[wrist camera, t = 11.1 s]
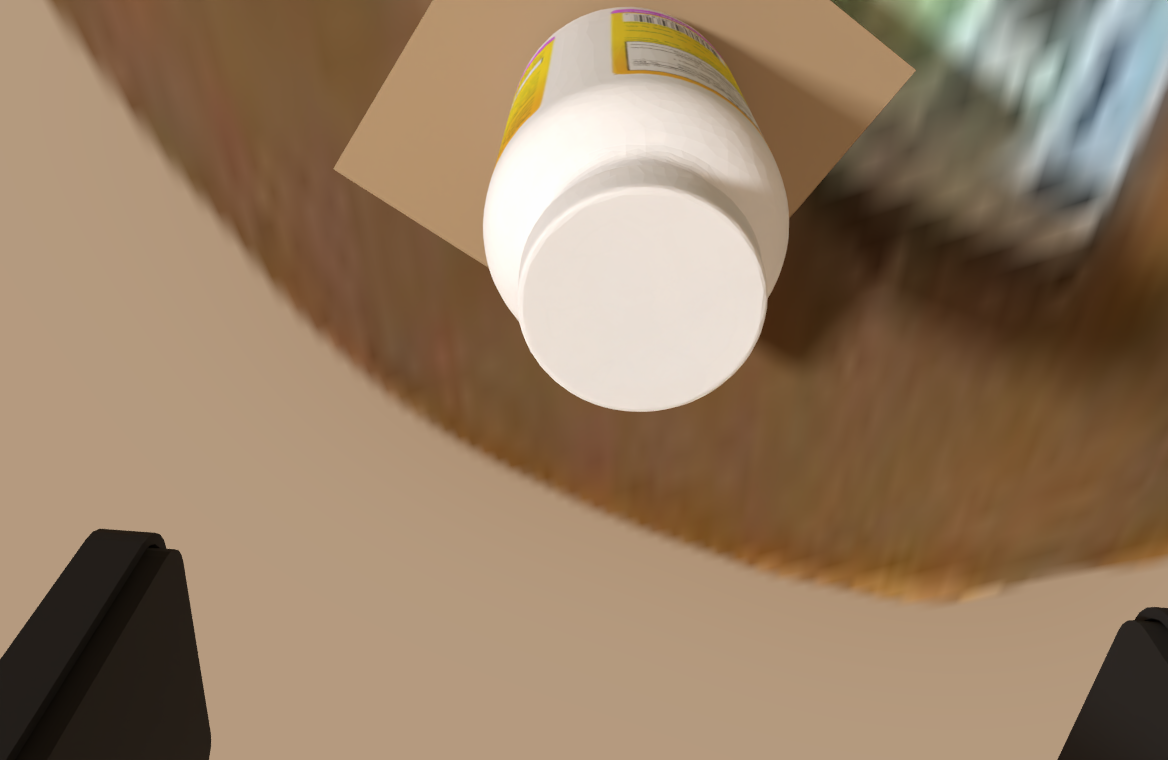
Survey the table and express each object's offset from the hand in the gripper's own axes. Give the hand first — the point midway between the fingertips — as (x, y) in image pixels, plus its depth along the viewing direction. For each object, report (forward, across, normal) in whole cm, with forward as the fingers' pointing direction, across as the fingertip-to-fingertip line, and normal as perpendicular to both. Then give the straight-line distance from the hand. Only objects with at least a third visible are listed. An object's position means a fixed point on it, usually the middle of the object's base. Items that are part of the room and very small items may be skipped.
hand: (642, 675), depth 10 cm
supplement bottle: (+22, 0, 0) cm, 22 cm away
